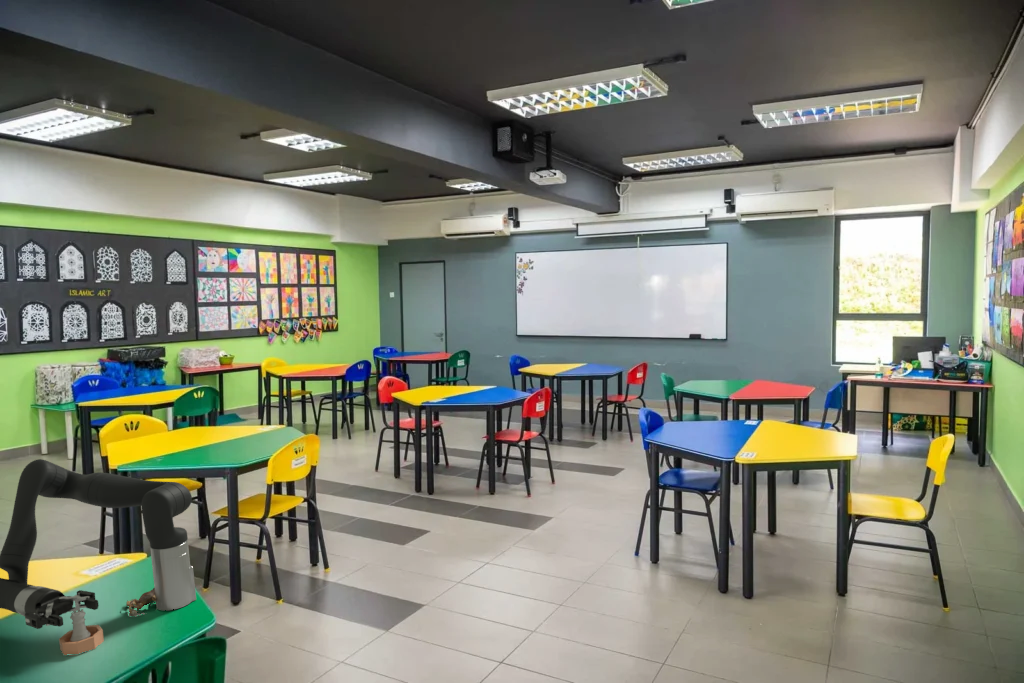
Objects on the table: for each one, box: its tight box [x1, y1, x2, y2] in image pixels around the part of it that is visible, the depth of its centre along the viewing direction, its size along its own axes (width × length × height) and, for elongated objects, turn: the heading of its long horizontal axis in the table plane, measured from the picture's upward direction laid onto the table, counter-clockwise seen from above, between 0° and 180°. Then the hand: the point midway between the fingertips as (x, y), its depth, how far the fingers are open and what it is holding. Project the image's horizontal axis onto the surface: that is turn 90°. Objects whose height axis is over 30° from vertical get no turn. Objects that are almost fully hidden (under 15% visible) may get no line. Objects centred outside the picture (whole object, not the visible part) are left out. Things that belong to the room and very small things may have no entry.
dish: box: [58, 624, 105, 656], centre depth 165 cm, size 8×8×3 cm
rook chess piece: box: [69, 608, 91, 642], centre depth 164 cm, size 4×4×8 cm
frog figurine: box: [126, 587, 156, 617], centre depth 185 cm, size 12×12×4 cm
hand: (79, 613), depth 164 cm, fingers open, 8 cm apart
